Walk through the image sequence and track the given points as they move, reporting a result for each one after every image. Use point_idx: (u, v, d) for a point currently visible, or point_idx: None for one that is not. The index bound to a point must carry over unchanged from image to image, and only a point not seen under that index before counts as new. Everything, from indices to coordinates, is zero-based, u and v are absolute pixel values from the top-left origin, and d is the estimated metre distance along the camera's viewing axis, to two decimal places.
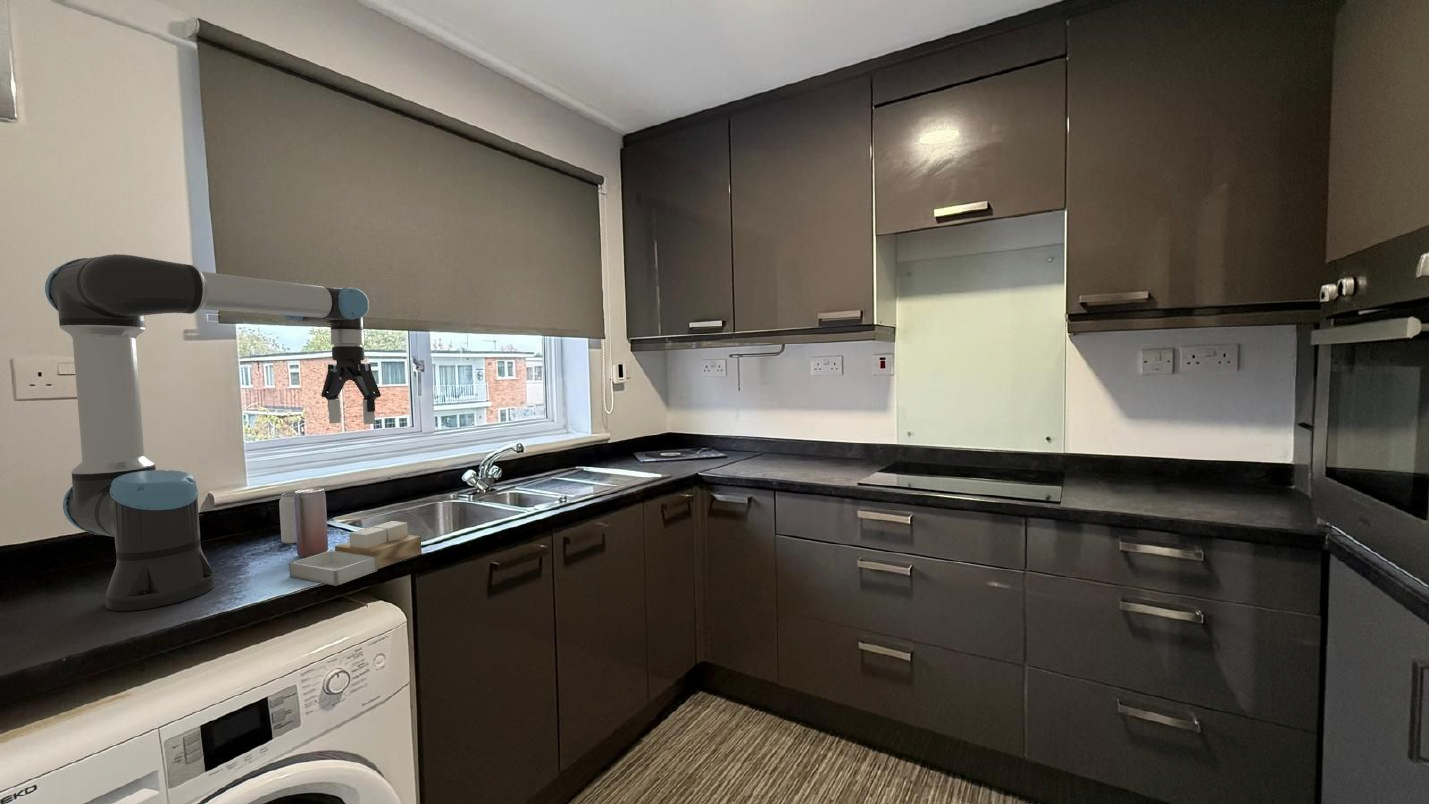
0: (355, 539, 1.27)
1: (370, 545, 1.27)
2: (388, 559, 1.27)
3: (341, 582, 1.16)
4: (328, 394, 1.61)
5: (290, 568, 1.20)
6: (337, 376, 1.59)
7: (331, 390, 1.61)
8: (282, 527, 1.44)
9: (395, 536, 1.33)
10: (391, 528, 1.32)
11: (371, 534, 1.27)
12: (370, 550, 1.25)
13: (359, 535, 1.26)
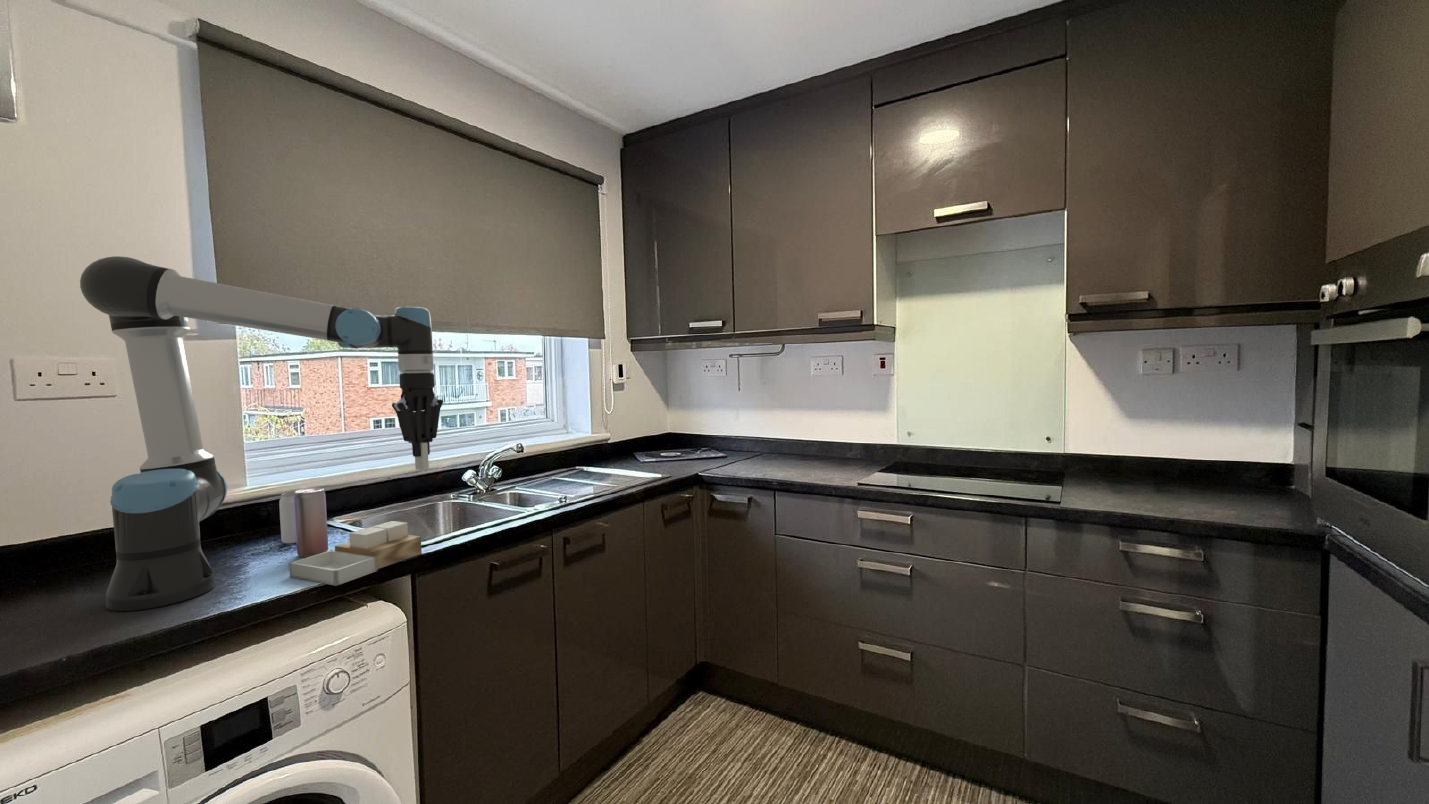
0: (355, 539, 1.27)
1: (370, 545, 1.27)
2: (388, 559, 1.27)
3: (341, 582, 1.16)
4: None
5: (290, 568, 1.20)
6: None
7: None
8: (282, 527, 1.44)
9: (395, 536, 1.33)
10: (391, 528, 1.32)
11: (371, 534, 1.27)
12: (370, 550, 1.25)
13: (359, 535, 1.26)
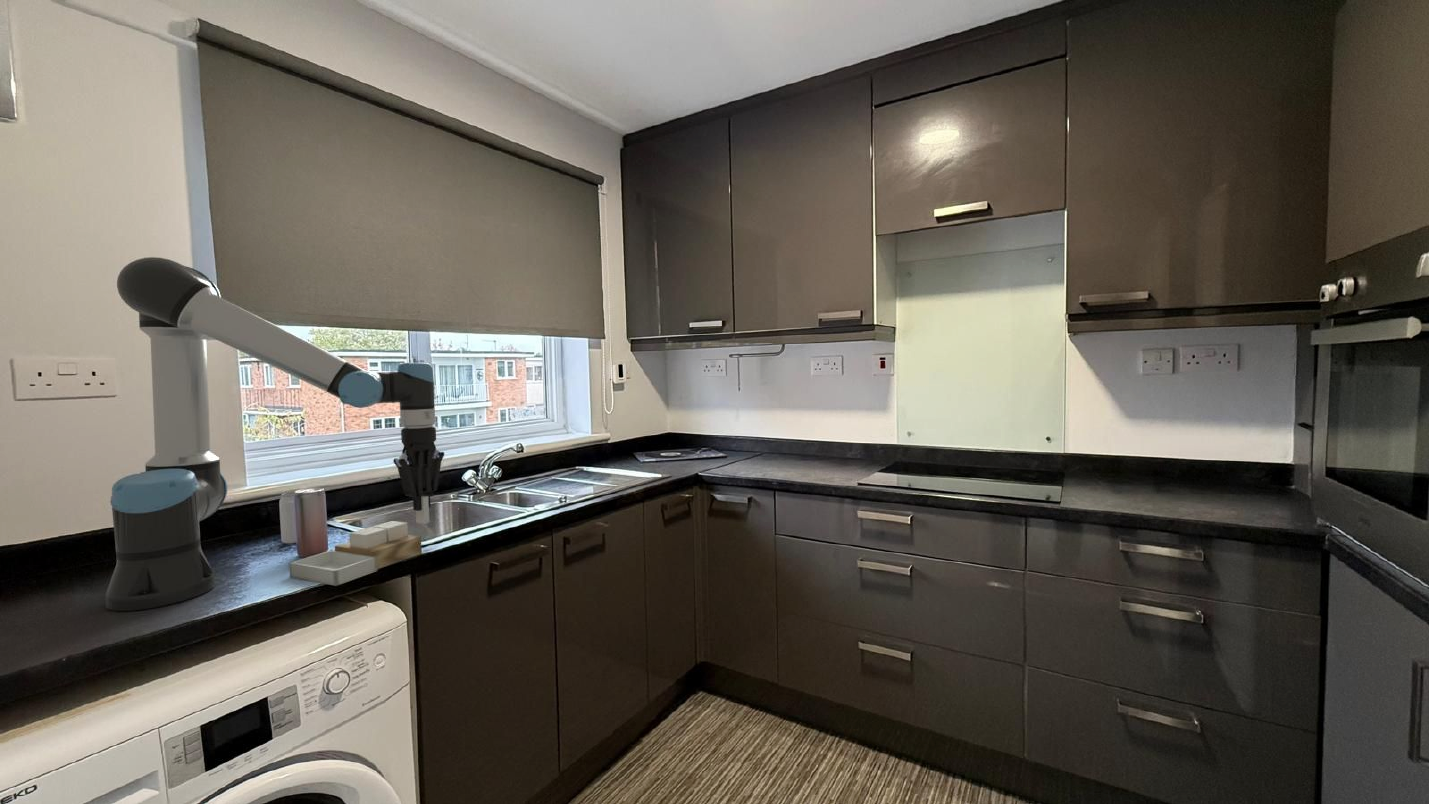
0: (355, 539, 1.27)
1: (370, 545, 1.27)
2: (388, 559, 1.27)
3: (341, 582, 1.16)
4: None
5: (290, 568, 1.20)
6: None
7: None
8: (282, 527, 1.44)
9: (395, 536, 1.33)
10: (391, 528, 1.32)
11: (371, 534, 1.27)
12: (370, 550, 1.25)
13: (359, 535, 1.26)
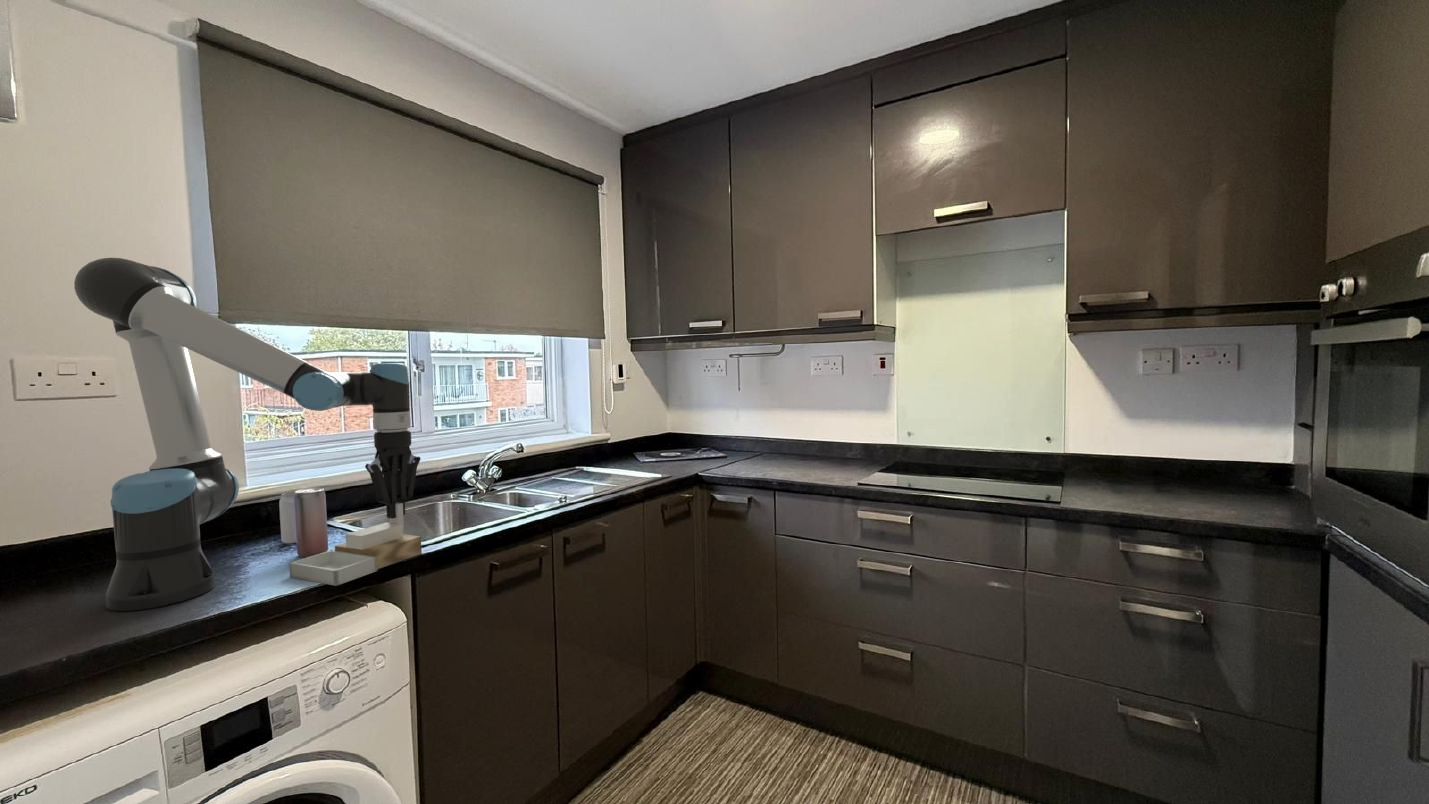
0: (351, 540, 1.26)
1: (366, 546, 1.26)
2: (388, 559, 1.27)
3: (341, 582, 1.16)
4: None
5: (290, 568, 1.20)
6: None
7: None
8: (282, 527, 1.44)
9: (390, 538, 1.31)
10: (386, 530, 1.30)
11: (367, 535, 1.26)
12: (370, 550, 1.25)
13: (355, 536, 1.26)
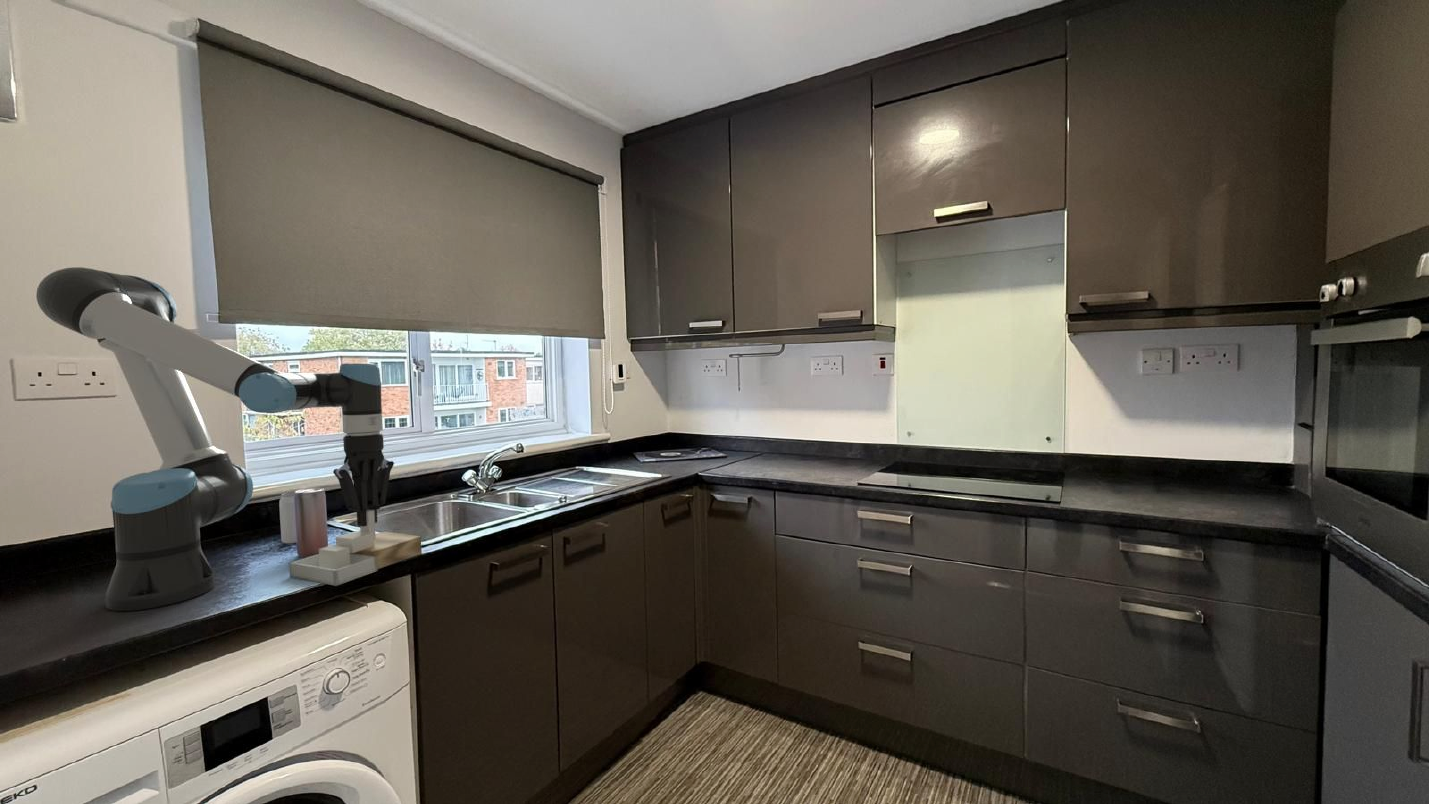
0: None
1: None
2: (388, 559, 1.27)
3: (341, 582, 1.16)
4: None
5: (290, 568, 1.20)
6: None
7: None
8: (282, 527, 1.44)
9: (360, 547, 1.25)
10: (355, 539, 1.24)
11: (337, 568, 1.20)
12: (370, 550, 1.25)
13: None
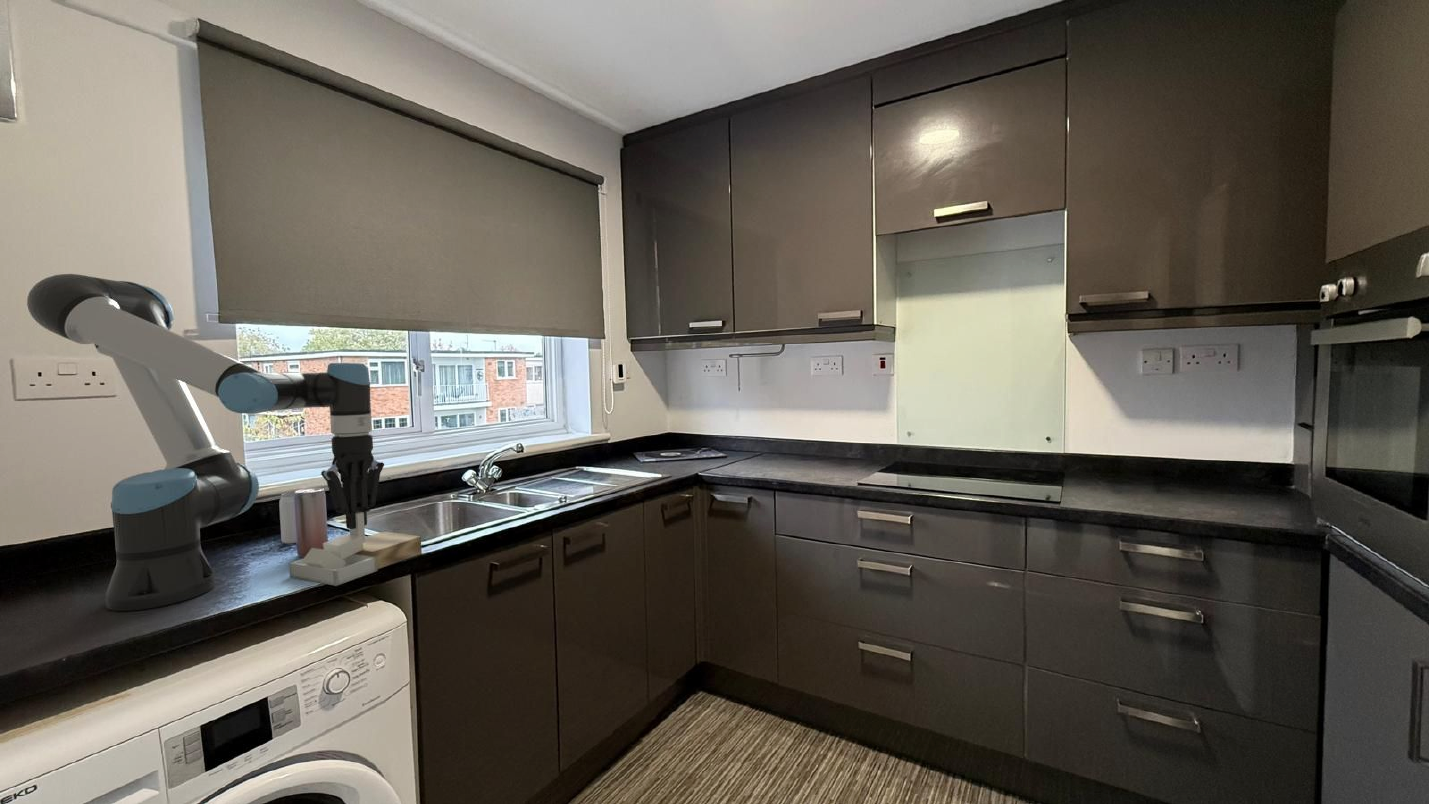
0: None
1: (341, 561, 1.21)
2: (388, 559, 1.27)
3: (341, 582, 1.16)
4: None
5: (290, 568, 1.20)
6: None
7: None
8: (282, 527, 1.44)
9: (349, 553, 1.22)
10: (343, 545, 1.21)
11: None
12: (370, 550, 1.25)
13: None
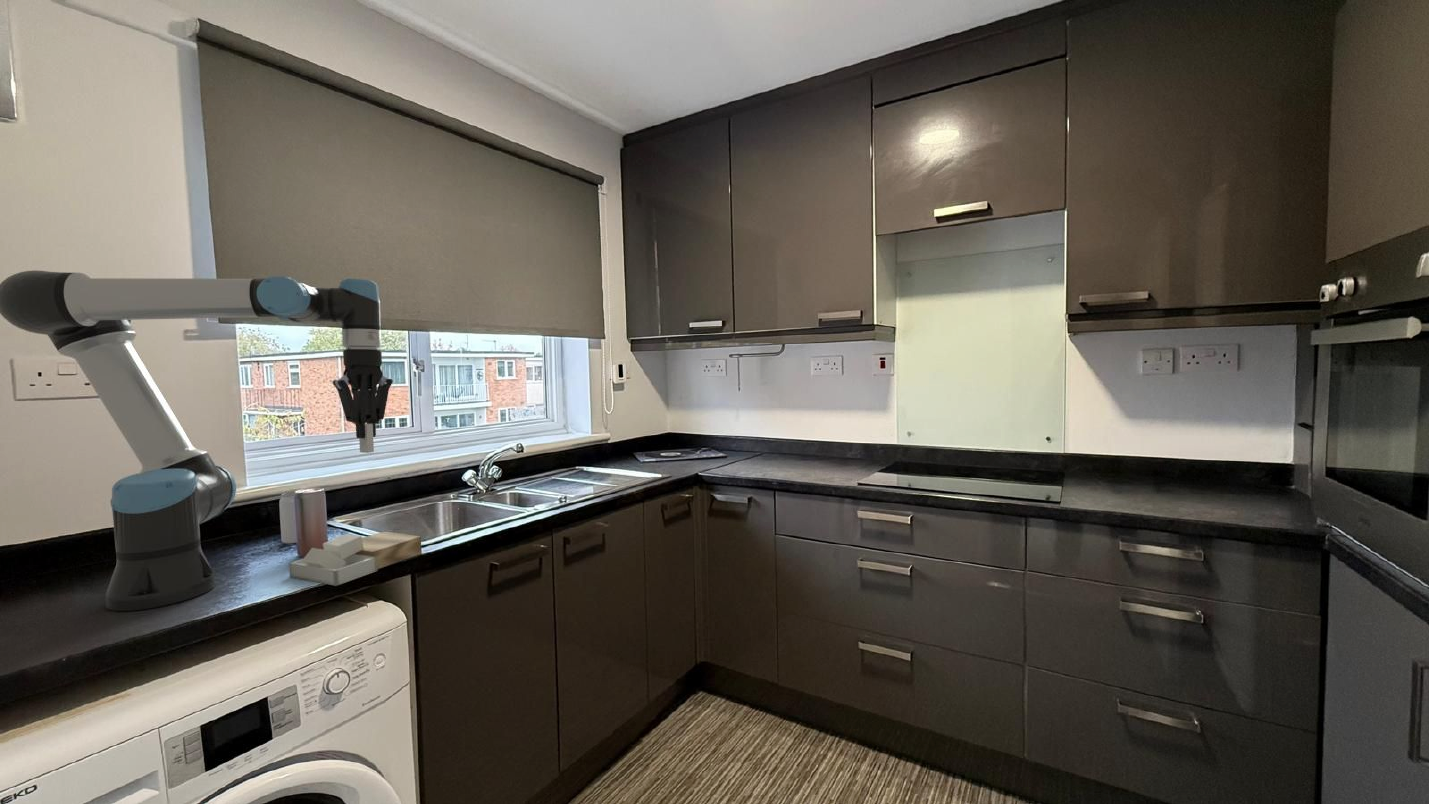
0: None
1: (341, 561, 1.21)
2: (388, 559, 1.27)
3: (341, 582, 1.16)
4: None
5: (290, 568, 1.20)
6: None
7: None
8: (282, 527, 1.44)
9: (349, 553, 1.22)
10: (343, 545, 1.21)
11: None
12: (370, 550, 1.25)
13: None
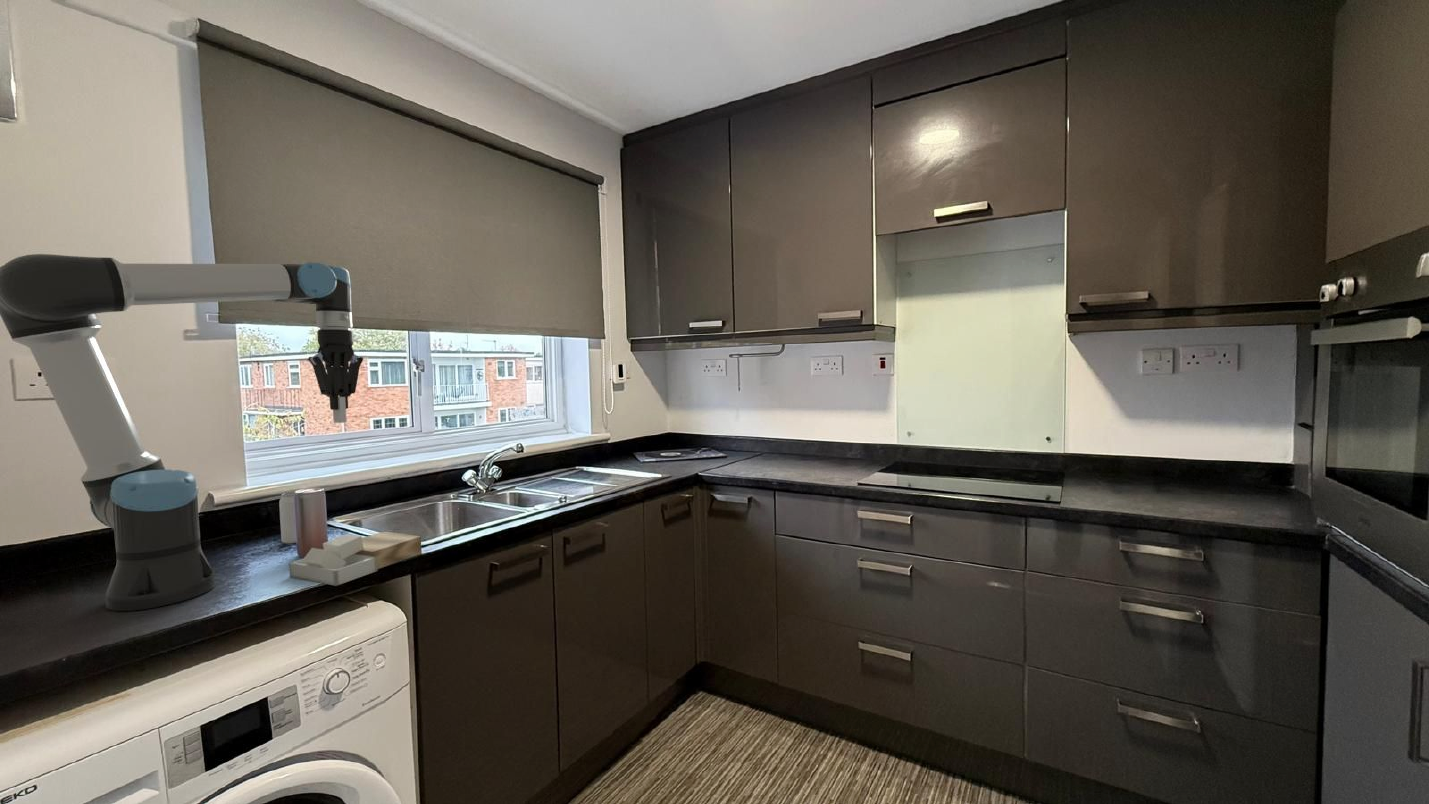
0: None
1: (341, 561, 1.21)
2: (388, 559, 1.27)
3: (341, 582, 1.16)
4: None
5: (290, 568, 1.20)
6: None
7: None
8: (282, 527, 1.44)
9: (349, 553, 1.22)
10: (343, 545, 1.21)
11: None
12: (370, 550, 1.25)
13: None
